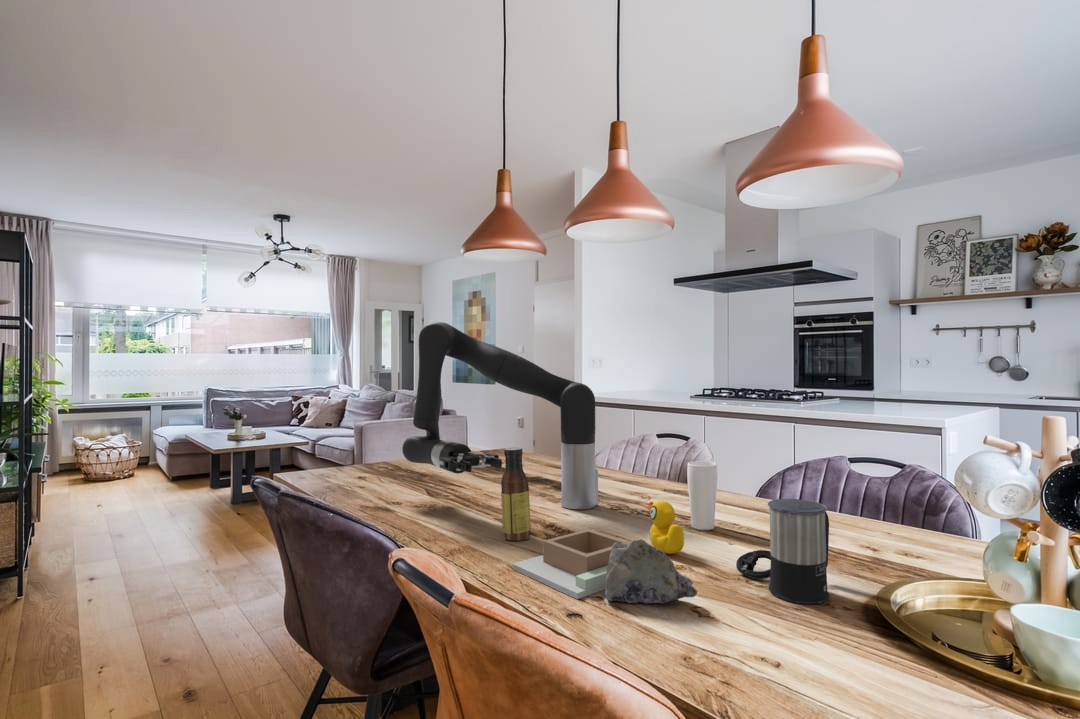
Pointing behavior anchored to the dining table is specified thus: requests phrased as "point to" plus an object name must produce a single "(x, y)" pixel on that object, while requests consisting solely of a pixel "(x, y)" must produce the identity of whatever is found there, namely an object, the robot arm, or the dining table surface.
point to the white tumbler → (702, 493)
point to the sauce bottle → (515, 497)
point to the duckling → (665, 528)
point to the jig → (572, 563)
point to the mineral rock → (644, 575)
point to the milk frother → (794, 552)
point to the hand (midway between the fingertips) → (485, 465)
